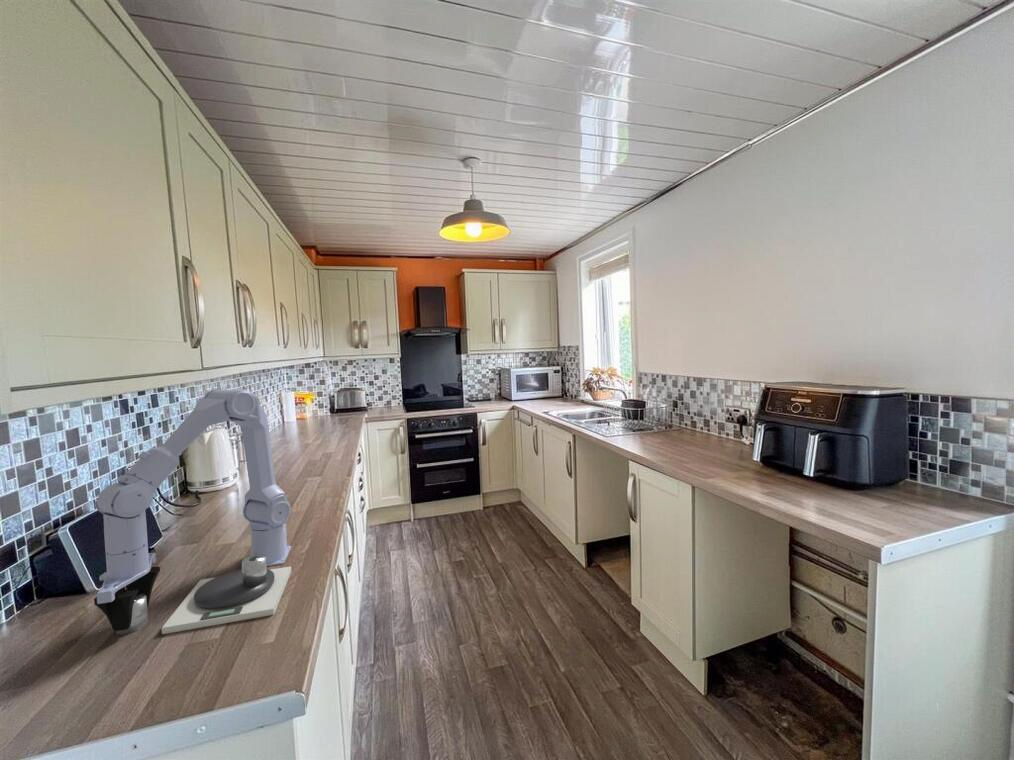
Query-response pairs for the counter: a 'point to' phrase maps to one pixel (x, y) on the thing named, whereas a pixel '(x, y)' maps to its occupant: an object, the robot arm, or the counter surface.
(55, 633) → the counter surface
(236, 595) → the scale pan
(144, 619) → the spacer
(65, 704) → the counter surface
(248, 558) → the cylinder
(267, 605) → the scale base
